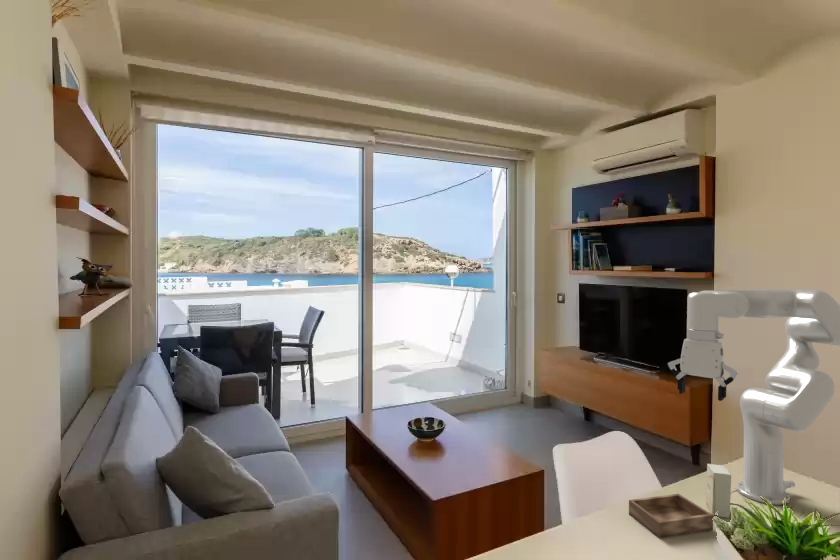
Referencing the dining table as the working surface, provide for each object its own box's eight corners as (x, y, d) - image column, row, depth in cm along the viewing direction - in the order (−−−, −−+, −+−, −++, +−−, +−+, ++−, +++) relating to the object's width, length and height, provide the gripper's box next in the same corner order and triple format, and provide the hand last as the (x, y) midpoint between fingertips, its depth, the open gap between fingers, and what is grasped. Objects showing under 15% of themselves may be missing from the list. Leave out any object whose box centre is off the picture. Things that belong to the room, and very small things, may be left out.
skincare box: (705, 505, 130) (706, 462, 130) (723, 507, 129) (724, 464, 129) (712, 516, 124) (712, 472, 124) (731, 519, 123) (731, 474, 123)
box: (678, 507, 129) (678, 493, 129) (713, 530, 118) (713, 515, 117) (628, 514, 125) (628, 500, 125) (659, 538, 114) (659, 522, 114)
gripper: (742, 338, 125) (741, 400, 125) (673, 331, 137) (672, 388, 138) (735, 340, 120) (734, 405, 120) (664, 333, 132) (663, 392, 132)
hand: (701, 396), depth 129 cm, fingers open, 9 cm apart
